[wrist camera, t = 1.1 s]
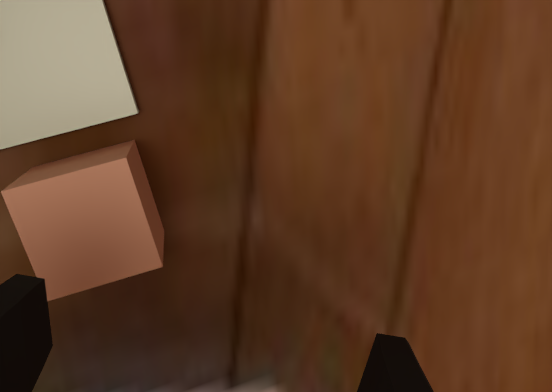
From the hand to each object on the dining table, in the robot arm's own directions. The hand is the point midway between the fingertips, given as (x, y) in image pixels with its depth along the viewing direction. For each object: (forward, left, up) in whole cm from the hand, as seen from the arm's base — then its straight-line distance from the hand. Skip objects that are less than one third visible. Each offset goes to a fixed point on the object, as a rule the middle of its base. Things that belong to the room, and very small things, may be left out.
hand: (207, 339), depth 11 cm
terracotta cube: (-3, +1, -11) cm, 12 cm away
